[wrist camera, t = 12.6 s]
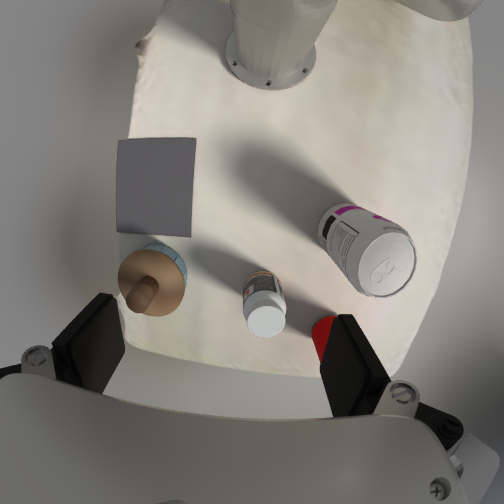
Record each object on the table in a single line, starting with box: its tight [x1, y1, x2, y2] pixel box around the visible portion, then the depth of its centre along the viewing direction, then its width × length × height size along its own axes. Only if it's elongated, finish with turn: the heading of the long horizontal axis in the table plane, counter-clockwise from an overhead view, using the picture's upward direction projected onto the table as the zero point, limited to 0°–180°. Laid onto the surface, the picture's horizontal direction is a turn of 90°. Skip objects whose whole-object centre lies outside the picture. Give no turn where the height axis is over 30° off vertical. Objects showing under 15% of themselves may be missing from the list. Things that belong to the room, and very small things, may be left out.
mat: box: [116, 138, 196, 237], centre depth 36 cm, size 14×12×1 cm
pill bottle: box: [243, 271, 286, 337], centre depth 37 cm, size 6×6×10 cm
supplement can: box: [318, 203, 417, 298], centre depth 31 cm, size 8×8×15 cm
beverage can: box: [312, 316, 337, 363], centre depth 38 cm, size 6×6×12 cm
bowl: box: [140, 244, 187, 287], centre depth 38 cm, size 9×9×4 cm
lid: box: [118, 249, 185, 316], centre depth 34 cm, size 10×10×6 cm
